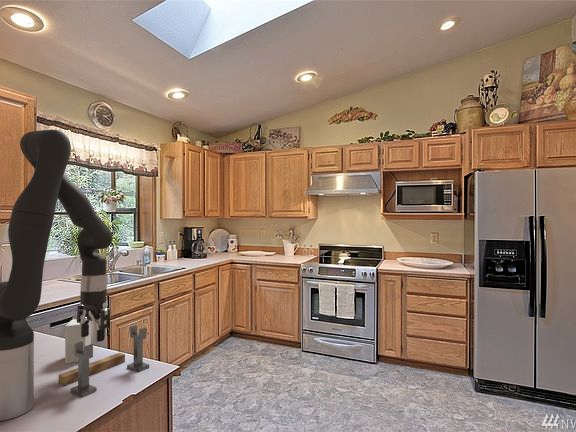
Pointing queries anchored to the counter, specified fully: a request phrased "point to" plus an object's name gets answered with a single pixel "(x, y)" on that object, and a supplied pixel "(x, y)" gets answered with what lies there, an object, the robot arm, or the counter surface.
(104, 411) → the counter surface
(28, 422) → the counter surface
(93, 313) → the robot arm
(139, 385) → the counter surface
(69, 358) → the small box
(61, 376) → the tan wooden bar
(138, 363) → the grey support rack
